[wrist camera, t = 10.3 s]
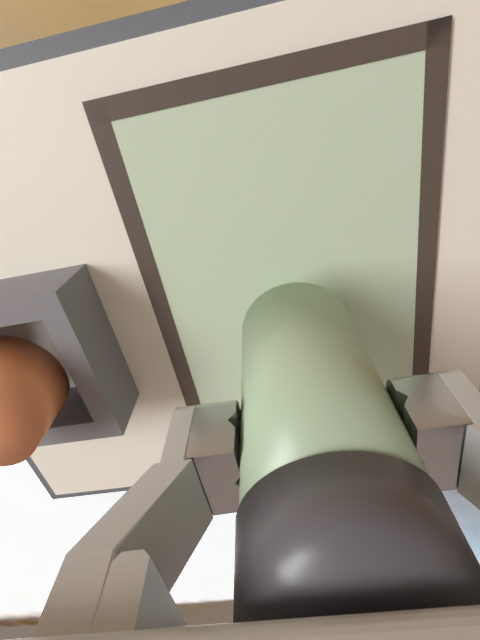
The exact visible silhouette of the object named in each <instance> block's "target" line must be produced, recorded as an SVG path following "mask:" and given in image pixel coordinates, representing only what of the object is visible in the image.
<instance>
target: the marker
mask: <svg viewBox="0 0 480 640" xmlns="http://www.w3.org/2000/svg"><path fill="white" fill-rule="evenodd" d="M467 605H480V565H479V563H478V561H477V559H476V557H475V555H474V553H473V551H472V549H471V547H470V546H469V544H468V542H467V540H466V538H465V536H464V534H463V532H462V530H461V528H460V526H459V524H458V522H457V520H456V518H455V517H454V515H453V513H452V511H451V509H450V507H449V505H448V503H447V501H446V499H445V497H444V495H443V493H442V491H441V489H440V487H439V486H438V485H437V483H436V482H435V481H434V479H432V478H431V477H430V475H429V473H428V471H427V469H426V467H425V465H424V463H423V461H422V459H421V457H420V455H419V453H418V451H417V449H416V447H415V445H414V443H413V441H412V440H411V438H410V436H409V434H408V432H407V430H406V428H405V426H404V424H403V422H402V420H401V418H400V416H399V414H398V412H397V410H396V408H395V406H394V404H393V402H392V400H391V398H390V396H389V394H388V392H387V390H386V388H385V386H384V384H383V382H382V380H381V378H380V376H379V374H378V372H377V370H376V369H375V367H374V365H373V363H372V361H371V359H370V357H369V355H368V353H367V351H366V349H365V347H364V345H363V343H362V341H361V339H360V337H359V335H358V333H357V331H356V329H355V327H354V325H353V323H352V321H351V319H350V317H349V315H348V313H347V311H346V309H345V307H344V305H343V304H342V303H341V301H340V300H339V299H338V298H337V297H336V296H335V295H334V294H333V293H332V292H330V291H329V290H327V289H325V288H323V287H321V286H318V285H315V284H311V283H305V282H294V283H286V284H282V285H279V286H276V287H274V288H272V289H270V290H268V291H266V292H265V293H263V294H262V295H260V296H259V297H258V298H257V299H256V300H255V301H254V302H253V303H252V305H251V306H250V308H249V309H248V311H247V313H246V315H245V318H244V321H243V326H242V373H241V428H240V484H239V507H238V510H237V515H236V535H235V574H234V614H233V623H236V622H249V621H263V620H276V619H290V618H303V617H317V616H331V615H344V614H358V613H371V612H385V611H398V610H412V609H426V608H439V607H453V606H467Z"/></svg>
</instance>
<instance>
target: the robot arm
mask: <svg viewBox="0 0 480 640" xmlns="http://www.w3.org/2000/svg"><path fill="white" fill-rule="evenodd" d="M386 390H387V392H388V394H389V396H390V398H391V400H392V402H393V404H394V406H395V408H396V410H397V412H398V414H399V416H400V418H401V420H402V422H403V424H404V426H405V428H406V430H407V432H408V434H409V436H410V438H411V440H412V441H413V443H414V445H415V447H416V449H417V451H418V453H419V455H420V457H421V459H422V461H423V463H424V465H425V467H426V469H427V471H428V473H429V475H430V477H431V478H432V479H434V481H435V482H436V483H437V485H438V486H439V487H440V489H441V491H446V490H458V492H459V493H460V494H461V495H462V496H463V497H465V498H466V499H467V500H468V501H470V502H471V503H472V504H473V505H475V506H476V507H477V508H478V509H480V392H479V391H478V389H477V388H476V387H475V386H474V385H473V384H472V382H471V381H470V380H469V379H468V378H467V376H466V375H465V374H464V373H463V372H462V371H461V370H459V369H451V370H445V371H438V372H433V373H428V374H421V375H414V376H407V377H400V378H394V379H387V381H386ZM240 428H241V409H240V405H239V402H238V401H237V400H233V401H225V402H216V403H207V404H198V405H193V406H184V407H176V408H175V410H174V411H173V413H172V417H171V421H170V425H169V429H168V433H167V436H166V440H165V444H164V448H163V452H162V456H161V460H160V463H155V464H153V465H152V466H151V467H150V468H149V469H148V470H147V471H146V472H145V473H144V474H143V475H142V476H141V477H140V478H139V479H138V480H137V481H136V482H135V484H134V485H133V486H132V487H131V488H130V489H129V490H128V491H127V492H126V493H125V494H124V495H123V496H122V497H121V498H120V499H119V500H118V501H117V502H116V503H115V504H114V505H113V506H112V507H111V509H110V510H109V511H108V512H107V513H106V514H105V515H104V516H103V517H102V518H101V519H100V520H99V521H98V522H97V523H96V524H95V525H94V526H93V527H92V528H91V529H90V530H89V531H88V532H87V533H86V535H85V536H84V537H83V538H82V539H81V540H80V541H79V542H78V543H77V544H76V545H75V546H74V547H73V548H72V549H71V550H70V551H69V552H68V553H67V554H66V556H65V559H64V561H63V564H62V566H61V568H60V571H59V573H58V576H57V578H56V580H55V583H54V585H53V588H52V590H51V593H50V595H49V597H48V600H47V602H46V605H45V607H44V610H43V612H42V614H41V617H40V619H39V622H38V624H37V626H36V629H35V632H34V634H33V636H32V638H19V639H6V640H480V605H467V606H453V607H439V608H426V609H412V610H398V611H385V612H371V613H358V614H344V615H331V616H317V617H303V618H290V619H276V620H263V621H249V622H236V623H223V624H209V625H195V626H186V623H185V621H184V619H183V617H182V615H181V613H180V612H179V610H178V608H177V606H176V604H175V602H174V600H173V598H172V597H171V595H170V593H169V592H170V590H171V588H172V587H173V585H174V583H175V582H176V580H177V578H178V577H179V575H180V573H181V571H182V570H183V568H184V566H185V565H186V563H187V561H188V560H189V558H190V556H191V554H192V553H193V551H194V549H195V548H196V546H197V544H198V543H199V541H200V539H201V537H202V536H203V534H204V532H205V531H206V529H207V527H208V526H209V524H210V522H211V520H212V519H213V516H212V515H219V514H226V513H234V512H237V510H238V507H239V484H240Z"/></svg>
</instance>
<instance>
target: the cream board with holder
mask: <svg viewBox="0 0 480 640" xmlns="http://www.w3.org/2000/svg"><path fill="white" fill-rule="evenodd" d="M294 282H305V283H311V284H315V285H318V286H321V287H323V288H325V289H327V290H329V291H330V292H332V293H333V294H334V295H335V296H336V297H337V298H338V299H339V300H340V301H341V303H342V304H343V305H344V307H345V309H346V311H347V313H348V315H349V317H350V319H351V321H352V323H353V325H354V327H355V329H356V331H357V333H358V335H359V337H360V339H361V341H362V343H363V345H364V347H365V349H366V351H367V353H368V355H369V357H370V359H371V361H372V363H373V365H374V367H375V369H376V370H377V372H378V374H379V376H380V378H381V380H382V382H383V384H384V386H385V388H386V381H387V379H394V378H400V377H407V376H414V375H421V374H428V373H433V372H438V371H445V370H451V369H459V370H461V371H462V372H463V373H464V374H465V375H466V376H467V378H468V379H469V380H470V381H471V382H472V384H473V385H474V386H475V387H476V388H477V389H478V391H479V392H480V0H189V1H185V2H181V3H178V4H174V5H170V6H166V7H162V8H158V9H154V10H150V11H146V12H143V13H139V14H135V15H131V16H127V17H123V18H119V19H115V20H112V21H108V22H104V23H100V24H96V25H92V26H88V27H84V28H81V29H77V30H73V31H69V32H65V33H61V34H57V35H53V36H49V37H46V38H42V39H38V40H34V41H30V42H26V43H22V44H18V45H15V46H11V47H7V48H3V49H0V336H13V337H18V338H22V339H25V340H28V341H31V342H33V343H35V344H37V345H39V346H41V347H42V348H44V349H45V350H47V351H48V352H49V353H51V354H52V355H53V356H54V357H55V358H56V359H57V360H58V361H59V362H60V364H61V365H62V366H63V368H64V370H65V371H66V373H67V376H68V379H69V384H70V392H69V396H68V398H67V400H66V402H65V403H64V405H63V407H62V408H61V410H60V411H59V413H58V415H57V416H56V418H55V419H54V421H53V422H52V424H51V426H50V427H49V429H48V430H47V432H46V434H45V435H44V437H43V438H42V440H41V442H40V443H39V445H38V446H37V448H36V450H35V451H34V452H33V454H32V455H31V456H30V457H28V458H27V459H26V460H27V462H28V463H29V464H30V466H31V467H32V469H33V470H34V472H35V473H36V475H37V476H38V478H39V479H40V481H41V482H42V484H43V485H44V486H45V488H46V489H47V491H48V492H49V494H50V495H51V497H52V498H53V499H56V498H64V497H73V496H82V495H91V494H100V493H108V492H117V491H126V490H129V489H130V488H131V487H132V486H133V485H134V484H135V482H136V481H137V480H138V479H139V478H140V477H141V476H142V475H143V474H144V473H145V472H146V471H147V470H148V469H149V468H150V467H151V466H152V465H153V464H155V463H160V460H161V456H162V452H163V448H164V444H165V440H166V436H167V433H168V429H169V425H170V421H171V417H172V413H173V411H174V410H175V408H176V407H184V406H193V405H198V404H207V403H216V402H225V401H233V400H237V401H238V402H239V405H240V409H241V373H242V326H243V321H244V318H245V315H246V313H247V311H248V309H249V308H250V306H251V305H252V303H253V302H254V301H255V300H256V299H257V298H258V297H259V296H260V295H262V294H263V293H265V292H266V291H268V290H270V289H272V288H274V287H276V286H279V285H282V284H286V283H294Z"/></svg>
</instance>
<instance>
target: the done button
mask: <svg viewBox="0 0 480 640" xmlns="http://www.w3.org/2000/svg"><path fill="white" fill-rule="evenodd" d="M69 392H70V384H69V379H68V376H67V373H66V371H65V370H64V368H63V366H62V365H61V364H60V362H59V361H58V360H57V359H56V358H55V357H54V356H53V355H52V354H51V353H49V352H48V351H47V350H45V349H44V348H42V347H41V346H39V345H37V344H35V343H33V342H31V341H28V340H25V339H22V338H18V337H13V336H0V466H8V465H13V464H16V463H19V462H22V461H24V460H25V459H27V458H28V457H30V456H31V455H32V454H33V452H34V451H35V450H36V448H37V446H38V445H39V443H40V442H41V440H42V438H43V437H44V435H45V434H46V432H47V430H48V429H49V427H50V426H51V424H52V422H53V421H54V419H55V418H56V416H57V415H58V413H59V411H60V410H61V408H62V407H63V405H64V403H65V402H66V400H67V398H68V396H69Z"/></svg>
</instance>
